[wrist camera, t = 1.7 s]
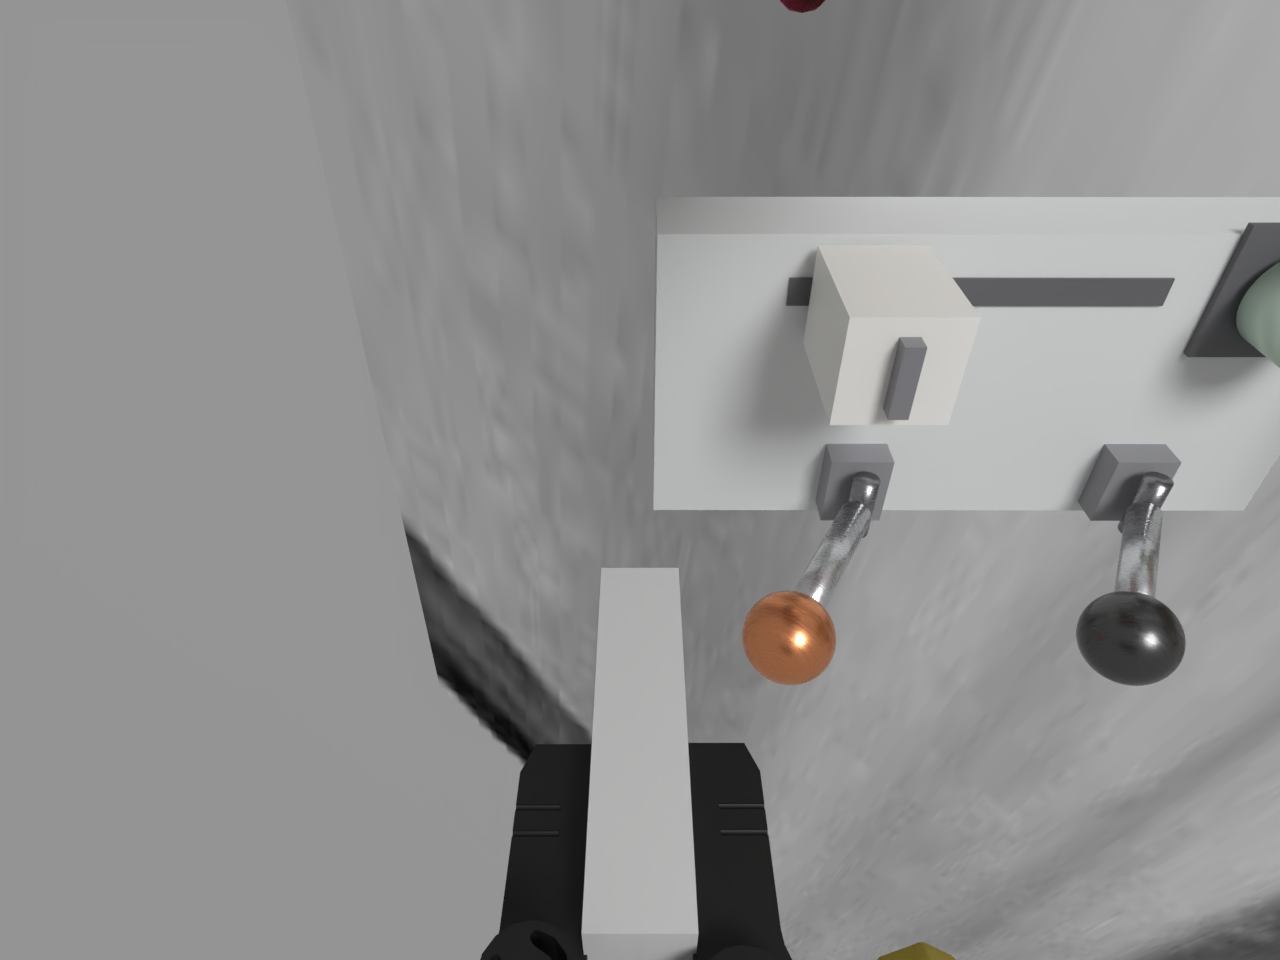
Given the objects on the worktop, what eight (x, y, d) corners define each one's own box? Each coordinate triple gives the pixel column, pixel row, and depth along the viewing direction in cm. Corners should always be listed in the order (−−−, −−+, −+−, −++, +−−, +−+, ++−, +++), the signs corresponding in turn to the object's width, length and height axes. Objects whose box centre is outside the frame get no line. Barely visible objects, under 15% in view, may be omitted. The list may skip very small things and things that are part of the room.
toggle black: (1118, 456, 30) (1090, 620, 24) (1207, 481, 29) (1202, 660, 23) (1089, 514, 32) (1056, 680, 26) (1172, 539, 31) (1159, 720, 25)
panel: (656, 185, 28) (658, 236, 24) (1354, 186, 28) (1461, 237, 24) (652, 459, 36) (653, 529, 32) (1197, 460, 36) (1260, 530, 32)
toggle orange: (834, 456, 30) (729, 619, 24) (911, 480, 29) (824, 659, 23) (822, 514, 32) (723, 679, 26) (894, 539, 31) (809, 719, 25)
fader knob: (817, 244, 25) (854, 328, 21) (929, 245, 25) (988, 328, 21) (803, 343, 28) (833, 436, 23) (905, 343, 28) (954, 436, 23)
